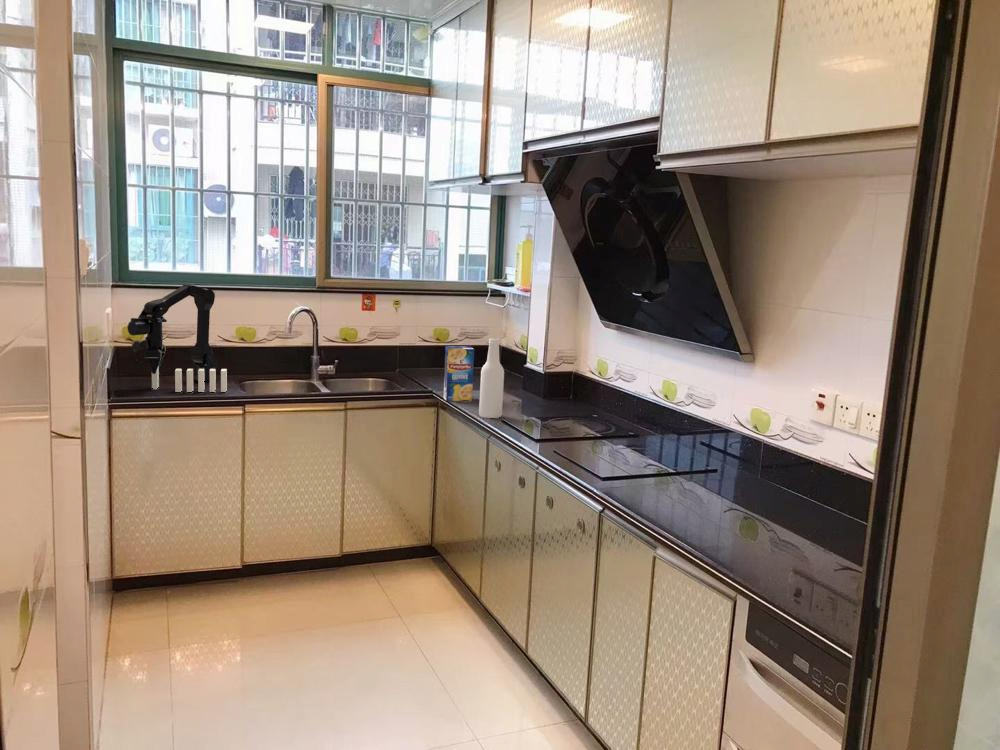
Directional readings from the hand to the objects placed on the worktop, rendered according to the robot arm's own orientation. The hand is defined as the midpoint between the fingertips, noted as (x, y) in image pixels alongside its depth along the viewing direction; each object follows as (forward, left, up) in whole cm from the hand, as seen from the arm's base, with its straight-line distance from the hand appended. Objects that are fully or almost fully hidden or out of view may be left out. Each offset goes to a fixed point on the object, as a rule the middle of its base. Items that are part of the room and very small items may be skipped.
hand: (155, 371), depth 329 cm
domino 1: (0, 0, -7) cm, 7 cm away
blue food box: (-84, +89, -7) cm, 123 cm away
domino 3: (-7, +14, -7) cm, 17 cm away
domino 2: (-3, +12, -7) cm, 14 cm away
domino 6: (-17, +22, -7) cm, 29 cm away
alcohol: (-71, +119, -7) cm, 138 cm away
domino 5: (-14, +19, -7) cm, 25 cm away
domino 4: (-10, +17, -7) cm, 21 cm away
